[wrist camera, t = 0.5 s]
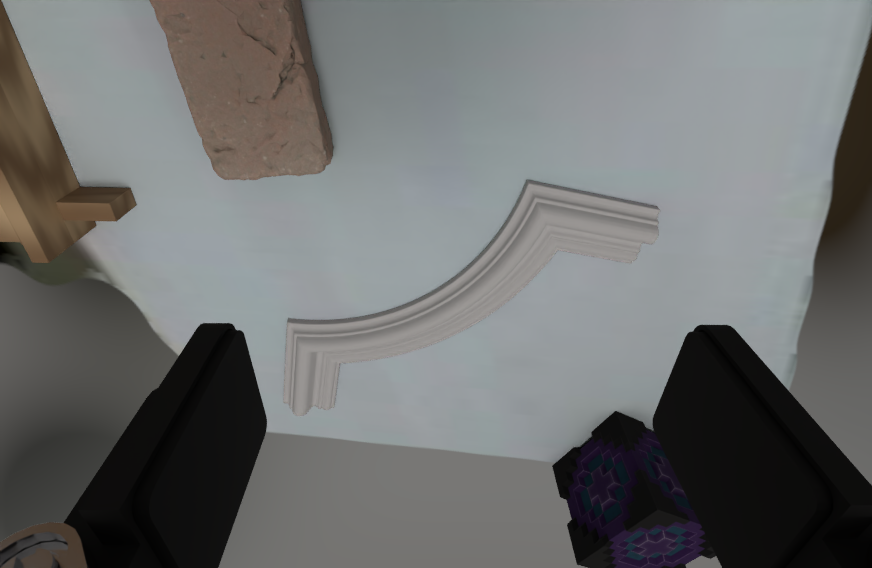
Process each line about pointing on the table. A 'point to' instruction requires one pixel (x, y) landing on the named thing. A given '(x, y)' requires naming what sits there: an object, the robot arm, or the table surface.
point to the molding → (467, 286)
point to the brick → (249, 85)
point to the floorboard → (41, 168)
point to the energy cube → (627, 501)
